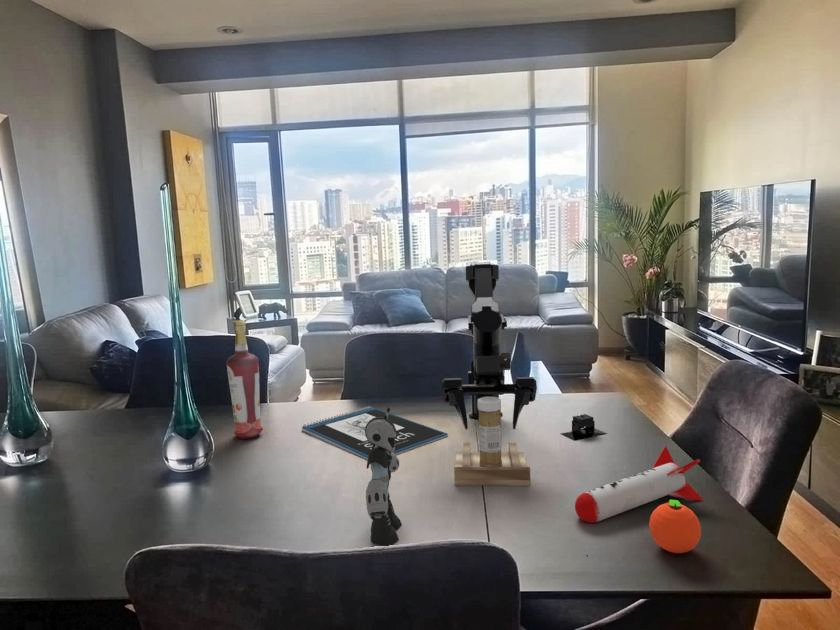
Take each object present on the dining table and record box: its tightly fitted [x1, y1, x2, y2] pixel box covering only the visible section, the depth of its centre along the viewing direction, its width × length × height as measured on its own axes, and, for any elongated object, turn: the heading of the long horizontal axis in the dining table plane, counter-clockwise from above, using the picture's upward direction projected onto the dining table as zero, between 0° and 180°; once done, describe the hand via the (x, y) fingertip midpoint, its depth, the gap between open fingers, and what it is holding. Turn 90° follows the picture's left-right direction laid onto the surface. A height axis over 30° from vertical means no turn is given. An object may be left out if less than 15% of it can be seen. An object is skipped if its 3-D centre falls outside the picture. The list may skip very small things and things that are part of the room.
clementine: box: [648, 499, 702, 554], centre depth 85 cm, size 8×7×7 cm
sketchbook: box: [301, 405, 449, 460], centre depth 140 cm, size 22×30×2 cm
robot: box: [365, 407, 403, 547], centre depth 92 cm, size 20×5×20 cm, turn 176°
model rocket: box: [574, 445, 704, 524], centre depth 99 cm, size 11×23×10 cm
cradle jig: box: [453, 442, 531, 486], centre depth 116 cm, size 14×14×3 cm
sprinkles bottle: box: [477, 396, 502, 467], centre depth 115 cm, size 5×5×14 cm
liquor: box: [225, 319, 264, 440], centre depth 139 cm, size 7×7×28 cm
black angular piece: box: [559, 413, 608, 442], centre depth 134 cm, size 12×7×5 cm, turn 114°
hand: (490, 428), depth 113 cm, fingers open, 9 cm apart
